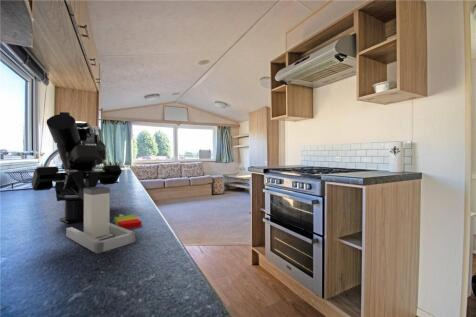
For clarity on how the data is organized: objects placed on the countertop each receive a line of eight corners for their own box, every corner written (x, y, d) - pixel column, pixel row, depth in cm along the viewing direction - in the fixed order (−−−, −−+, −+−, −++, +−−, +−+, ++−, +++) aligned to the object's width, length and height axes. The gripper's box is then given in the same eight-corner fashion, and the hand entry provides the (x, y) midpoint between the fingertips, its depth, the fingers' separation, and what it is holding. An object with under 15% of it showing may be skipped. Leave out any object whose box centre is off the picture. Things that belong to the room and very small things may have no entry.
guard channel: (66, 236, 56) (66, 228, 56) (103, 227, 63) (103, 220, 63) (97, 253, 47) (97, 243, 47) (136, 241, 54) (136, 232, 53)
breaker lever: (83, 235, 55) (83, 188, 55) (101, 230, 59) (101, 186, 59) (91, 238, 53) (91, 189, 53) (109, 234, 56) (109, 187, 56)
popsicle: (120, 231, 61) (120, 224, 61) (110, 219, 73) (110, 212, 73) (142, 228, 65) (142, 221, 65) (129, 216, 76) (129, 210, 76)
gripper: (35, 131, 52) (50, 184, 46) (118, 136, 67) (139, 177, 61) (25, 164, 57) (39, 217, 51) (106, 163, 72) (124, 203, 66)
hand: (90, 202), depth 57 cm, fingers closed
